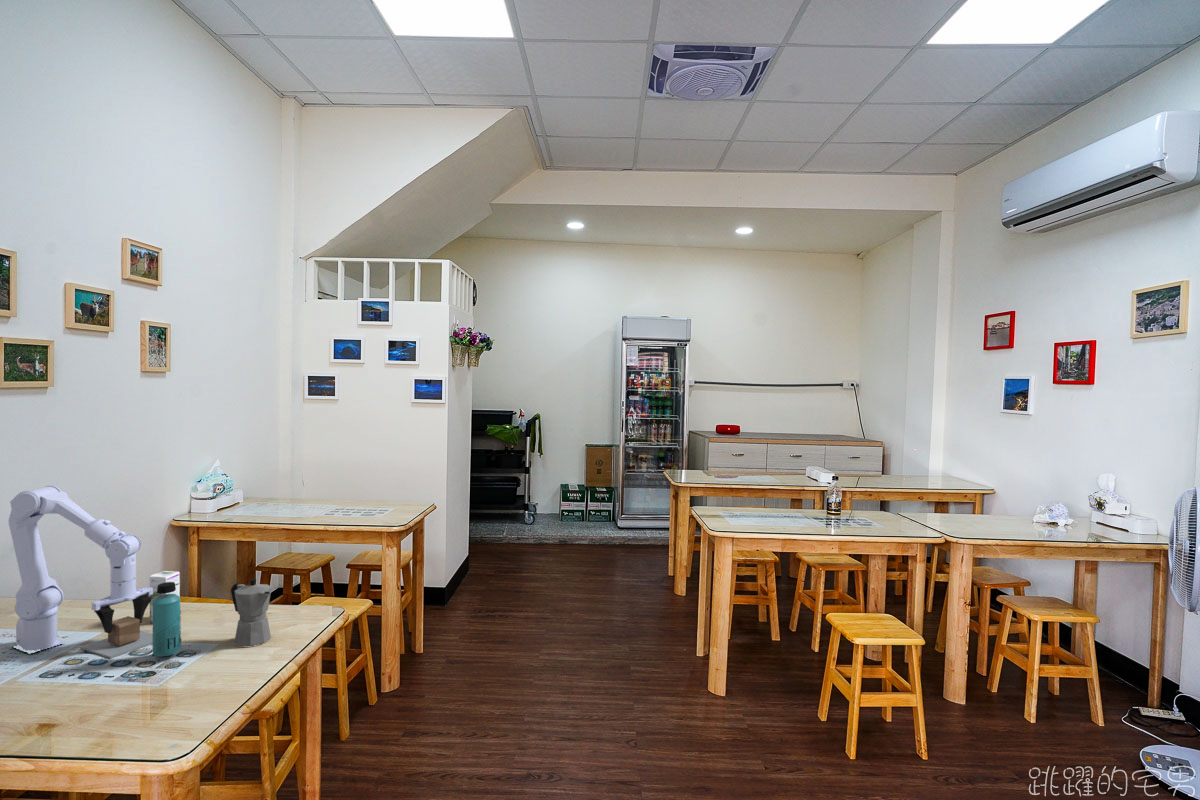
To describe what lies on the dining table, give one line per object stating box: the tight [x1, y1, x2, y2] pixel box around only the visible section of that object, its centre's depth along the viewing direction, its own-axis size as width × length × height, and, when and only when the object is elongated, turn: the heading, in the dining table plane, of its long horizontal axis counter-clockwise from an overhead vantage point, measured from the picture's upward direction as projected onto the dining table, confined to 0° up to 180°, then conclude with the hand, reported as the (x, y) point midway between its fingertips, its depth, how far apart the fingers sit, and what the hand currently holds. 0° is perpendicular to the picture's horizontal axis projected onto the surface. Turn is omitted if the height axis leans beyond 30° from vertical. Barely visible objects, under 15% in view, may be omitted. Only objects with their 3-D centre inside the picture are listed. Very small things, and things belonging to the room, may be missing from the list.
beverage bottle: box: [151, 582, 182, 657], centre depth 166 cm, size 6×7×20 cm
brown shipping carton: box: [107, 615, 141, 646], centre depth 174 cm, size 5×5×6 cm
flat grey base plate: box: [79, 629, 153, 660], centre depth 174 cm, size 14×14×6 cm
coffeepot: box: [230, 578, 272, 647], centre depth 178 cm, size 15×9×18 cm, turn 67°
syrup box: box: [148, 570, 181, 623], centre depth 192 cm, size 6×6×14 cm
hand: (123, 627), depth 174 cm, fingers open, 7 cm apart
